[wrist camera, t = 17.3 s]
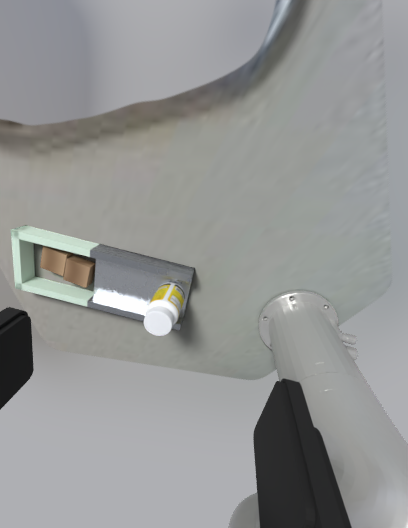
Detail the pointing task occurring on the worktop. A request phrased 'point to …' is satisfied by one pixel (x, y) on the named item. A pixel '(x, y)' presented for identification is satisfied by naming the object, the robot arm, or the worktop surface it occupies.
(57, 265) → the chip
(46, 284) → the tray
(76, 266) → the brown block
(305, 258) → the worktop surface
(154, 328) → the supplement bottle
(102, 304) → the channel
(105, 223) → the worktop surface
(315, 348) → the robot arm
